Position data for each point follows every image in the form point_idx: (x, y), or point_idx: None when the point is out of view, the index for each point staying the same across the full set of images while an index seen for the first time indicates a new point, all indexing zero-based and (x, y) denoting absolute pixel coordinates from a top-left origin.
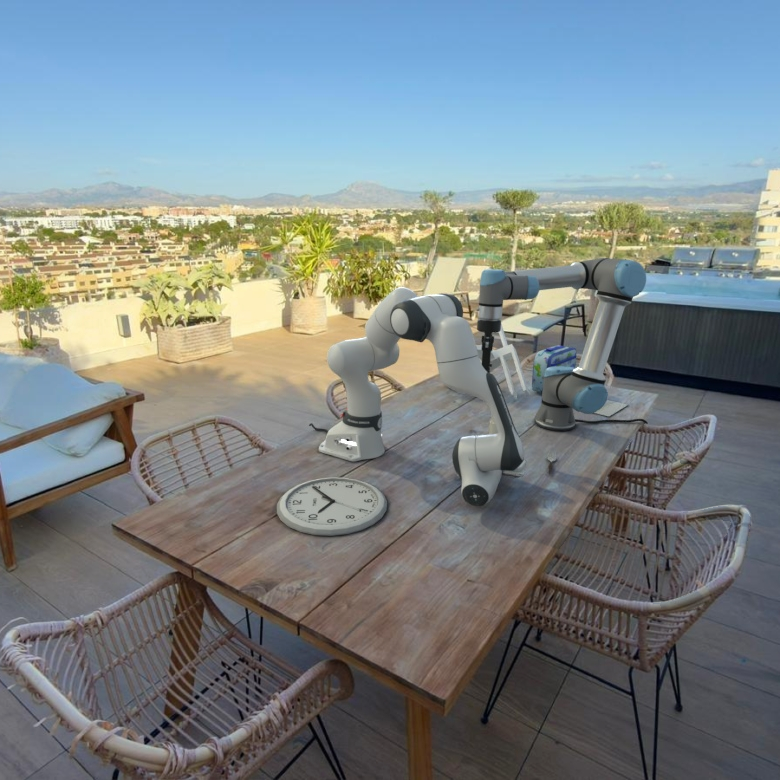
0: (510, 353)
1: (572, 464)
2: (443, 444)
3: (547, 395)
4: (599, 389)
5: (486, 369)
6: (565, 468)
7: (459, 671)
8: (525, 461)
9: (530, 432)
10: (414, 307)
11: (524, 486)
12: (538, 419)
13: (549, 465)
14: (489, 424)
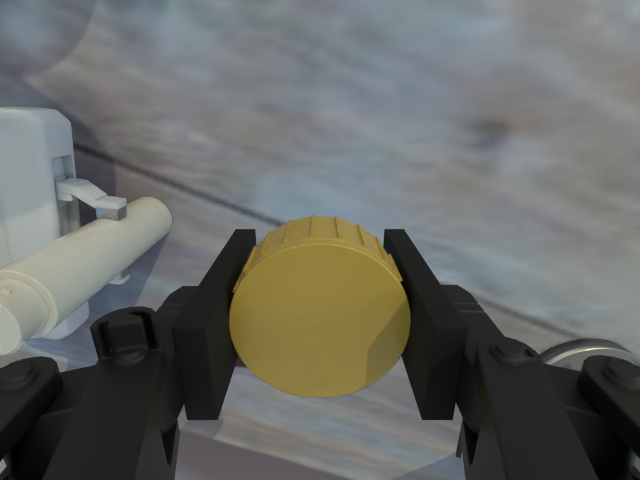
0: None
1: (284, 403)
2: (334, 22)
3: (637, 458)
4: None
5: (8, 454)
6: (255, 388)
7: None
8: (47, 338)
9: (498, 323)
10: None
11: (108, 296)
12: (573, 360)
13: (241, 360)
14: (7, 264)
